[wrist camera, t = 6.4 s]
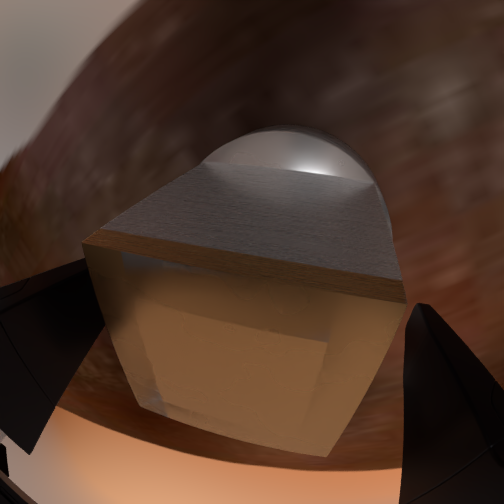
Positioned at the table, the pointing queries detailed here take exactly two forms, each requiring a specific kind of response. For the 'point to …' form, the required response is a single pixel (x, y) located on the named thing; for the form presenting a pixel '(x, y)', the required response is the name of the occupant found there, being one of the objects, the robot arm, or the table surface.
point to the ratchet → (298, 154)
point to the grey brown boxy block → (251, 301)
